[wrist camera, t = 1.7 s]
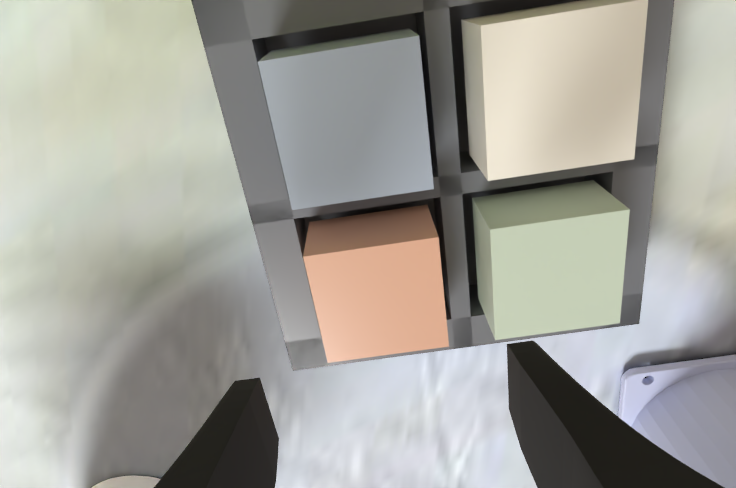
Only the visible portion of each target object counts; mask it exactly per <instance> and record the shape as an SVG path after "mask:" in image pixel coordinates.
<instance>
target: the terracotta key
mask: <svg viewBox="0 0 736 488" xmlns="http://www.w3.org/2000/svg"><path fill="white" fill-rule="evenodd" d="M303 259H304V263H305V267H306V272H307V276H308V280H309V285H310V289H311V293H312V297H313V302H314V306H315V310H316V315H317V319H318V323H319V328H320V332H321V336H322V340H323V345H324V349H325V353H326V358H327V362H328V363H331V362H339V361H346V360H354V359H361V358H368V357H376V356H383V355H390V354H398V353H405V352H412V351H420V350H427V349H434V348H442V347H449V341H448V330H447V320H446V309H445V299H444V289H443V278H442V268H441V257H440V247H439V237H438V234H437V231H436V228H435V225H434V223H433V220H432V217H431V214H430V211H429V208H428V205H421V206H414V207H407V208H400V209H393V210H387V211H380V212H373V213H366V214H360V215H353V216H346V217H339V218H332V219H326V220H319V221H312V222H309V226H308V232H307V238H306V243H305V249H304V254H303Z"/></svg>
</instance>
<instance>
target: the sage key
mask: <svg viewBox="0 0 736 488" xmlns="http://www.w3.org/2000/svg"><path fill="white" fill-rule="evenodd" d="M472 204H473V221H474V237H475V254H476V270H477V286H478V299H479V301H480V304H481V306H482V309H483V311H484V314H485V316H486V319H487V321H488V324H489V326H490V329H491V331H492V334H493V336H494V339H495V340H501V339H508V338H515V337H523V336H530V335H537V334H545V333H552V332H559V331H567V330H574V329H581V328H589V327H596V326H604V325H611V324H618V323H620V316H621V304H622V293H623V282H624V270H625V259H626V248H627V236H628V225H629V214H630V209H629V208H627V207H626V206H625V205H624V204H623V203H621V202H620V201H619V200H618V199H616V198H615V197H614V196H613V195H611V194H610V193H609V192H608V191H606V190H605V189H604V188H603V187H601V186H600V185H599V184H598V183H596V182H595V181H594V180H590V181H583V182H576V183H569V184H563V185H556V186H549V187H542V188H536V189H529V190H522V191H515V192H509V193H502V194H495V195H488V196H481V197H475V198H472Z"/></svg>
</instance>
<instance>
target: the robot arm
mask: <svg viewBox="0 0 736 488" xmlns="http://www.w3.org/2000/svg"><path fill="white" fill-rule="evenodd" d="M507 359H508V389H509V410H510V413H511V417H512V420H513V423H514V427H515V430H516V434H517V437H518V440H519V443H520V447H521V450H522V452H523V454H524V457H525V459H526V462H527V464H528V466H529V469H530V471H531V473H532V476H533V478H534V480H535V483H536V485H537V487H538V488H736V355H728V356H720V357H713V358H705V359H698V360H690V361H683V362H675V363H668V364H660V365H652V366H645V367H637V368H632V369H629V370H627V371H626V372H625V373H624V374H623V375H622V379H621V389H620V400H619V410H618V416H616V415H615V414H614V413H613V412H611V411H610V410H609V409H608V408H607V407H605V406H604V405H603V404H602V403H601V402H599V401H598V400H597V399H596V398H595V397H594V396H592V395H591V394H590V393H589V392H588V391H587V390H585V389H584V388H583V387H582V386H581V385H580V384H579V383H578V382H576V381H575V380H574V379H573V378H572V377H571V376H570V375H569V374H568V373H567V372H566V371H565V370H563V369H562V368H561V367H560V366H559V365H558V364H557V363H556V362H555V361H554V360H553V359H552V358H551V357H550V356H549V355H548V354H547V353H546V352H545V351H544V350H543V349H542V348H541V347H540V346H539V345H538V344H537V343H535V342H534V341H527V342H520V343H512V344H507ZM646 376H648V377H647V378H645V377H646ZM643 378H644V379H643ZM278 442H279V438H278V435H277V432H276V428H275V425H274V422H273V419H272V416H271V412H270V409H269V406H268V403H267V400H266V397H265V393H264V390H263V387H262V384H261V381H260V378H254V379H247V380H240V381H235V382H234V383H233V384H232V386H231V387H230V388H229V390H228V391H227V392H226V394H225V395H224V397H223V398H222V399H221V401H220V402H219V404H218V405H217V406H216V408H215V409H214V411H213V412H212V413H211V415H210V416H209V418H208V419H207V420H206V422H205V423H204V424H203V426H202V427H201V429H200V430H199V431H198V433H197V434H196V435H195V437H194V438H193V439H192V440H191V442H190V443H189V444H188V446H187V447H186V448H185V450H184V451H183V452H182V454H181V455H180V456H179V457H178V459H177V460H176V461H175V462H174V464H173V465H172V466H171V467H170V468H169V470H168V471H167V472H166V473H165V475H164V476H163V477H162V478H161V479H160V481H159V482H158V483H157V484H156V485H155V487H154V488H275V482H276V472H277V459H278Z"/></svg>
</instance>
